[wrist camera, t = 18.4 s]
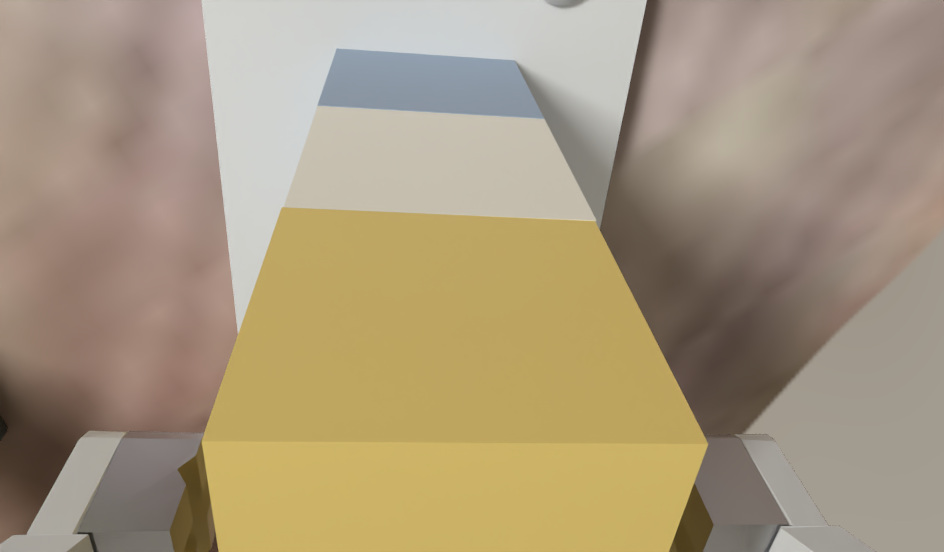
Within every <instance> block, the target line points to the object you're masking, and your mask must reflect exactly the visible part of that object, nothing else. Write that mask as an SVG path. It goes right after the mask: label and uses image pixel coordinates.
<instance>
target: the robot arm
mask: <svg viewBox="0 0 944 552" xmlns="http://www.w3.org/2000/svg"><path fill="white" fill-rule="evenodd" d="M203 436H204V433H179V432H143V431H129V432H114V431H88V432H87V433H86V434H85V435H83V436H82V437H81V438H80V439H79V440H78V442H77V444H76V445H75V447H74V449H73V451H72V453H71V454H70V456H69V458H68V460H67V462H66V463H65V465H64V467H63V469H62V471H61V472H60V474H59V476H58V478H57V480H56V481H55V483H54V485H53V487H52V489H51V491H50V492H49V494H48V496H47V498H46V500H45V501H44V503H43V505H42V507H41V509H40V510H39V512H38V514H37V516H36V518H35V519H34V521H33V523H32V525H31V527H30V528H29V530H28V532H27V534H26V535H12V536H11V537H10V538H8V539H7V540H5V541H4V542H2V543H1V544H0V552H208V551H209V550H210V549H211V548H212V545H213V541H214V537H215V533H216V532H215V525H214V519H213V512H212V506H211V499H210V493H209V486H208V480H207V473H206V467H205V460H204V454H203V447H202V438H203ZM704 436H705V438H706V440H707V442H708V447H707V449H706V452H705V455H704V457H703V460H702V463H701V466H700V468H699V471H698V474H697V477H696V479H695V482H694V485H693V487H692V490H691V493H690V496H689V498H688V501H687V504H686V507H685V509H684V512H683V515H682V517H681V520H680V523H679V526H678V528H677V531H676V534H675V537H674V539H673V542H672V545H671V547H670V550H669V552H876V551H874V550H873V549H872V548H870V547H869V546H867V545H866V544H864V543H863V542H862V541H860V540H859V539H857V538H856V537H854V536H853V535H852V534H850V533H849V532H847V531H846V530H844V529H843V528H842V527H840V526H829V525H828V524H827V522H826V520H825V519H824V517H823V516H822V514H821V513H820V511H819V510H818V508H817V506H816V505H815V503H814V501H813V500H812V498H811V497H810V495H809V494H808V492H807V490H806V489H805V487H804V486H803V484H802V482H801V481H800V479H799V478H798V476H797V475H796V473H795V471H794V470H793V468H792V467H791V466H790V464H789V462H788V461H787V459H786V457H785V456H784V454H783V453H782V451H781V449H780V448H779V446H778V445H777V443H776V441H775V440H774V439H773V438H771V437H770V436H768V435H767V434H734V435H704Z"/></svg>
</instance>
